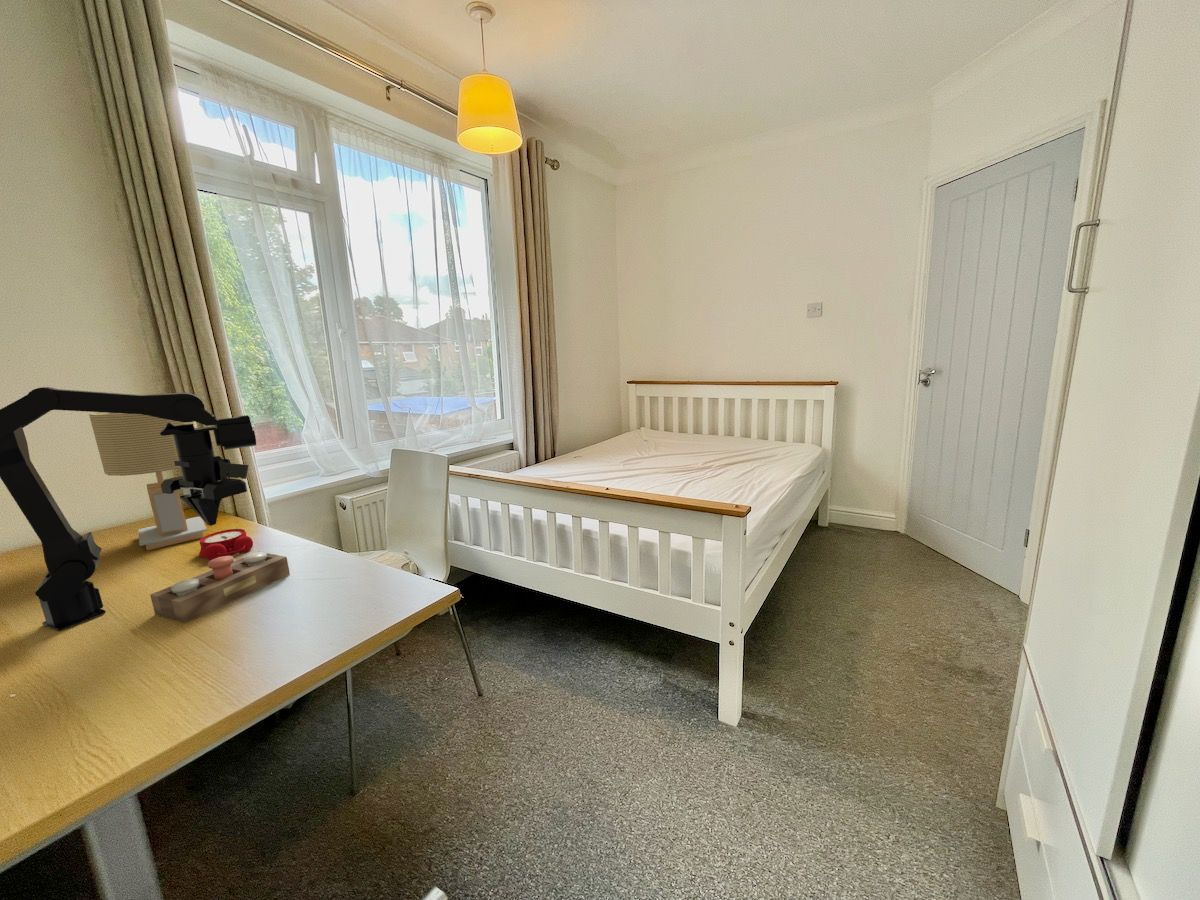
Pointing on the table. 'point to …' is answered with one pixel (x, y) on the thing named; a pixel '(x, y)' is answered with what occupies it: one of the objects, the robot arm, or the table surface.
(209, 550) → the alarm clock
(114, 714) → the table surface
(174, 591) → the left plug
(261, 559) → the right plug
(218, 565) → the red plug
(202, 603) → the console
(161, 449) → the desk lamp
